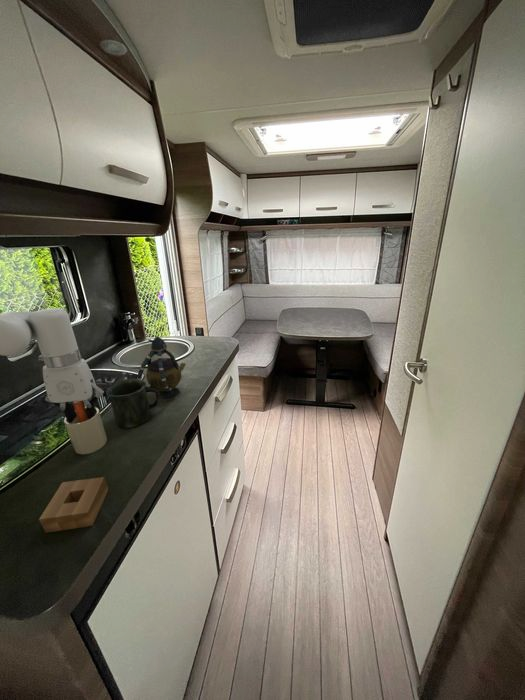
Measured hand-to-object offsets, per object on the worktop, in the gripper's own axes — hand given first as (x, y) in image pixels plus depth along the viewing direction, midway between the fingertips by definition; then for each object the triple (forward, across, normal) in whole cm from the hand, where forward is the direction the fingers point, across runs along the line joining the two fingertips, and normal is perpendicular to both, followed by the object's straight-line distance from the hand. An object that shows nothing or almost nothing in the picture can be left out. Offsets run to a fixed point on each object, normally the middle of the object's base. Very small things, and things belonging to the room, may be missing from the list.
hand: (82, 417), depth 77 cm
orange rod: (+9, 0, 0) cm, 9 cm away
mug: (+9, +11, +11) cm, 18 cm away
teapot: (+9, +19, +27) cm, 34 cm away
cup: (+9, 0, 0) cm, 9 cm away
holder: (+9, +6, -22) cm, 25 cm away
